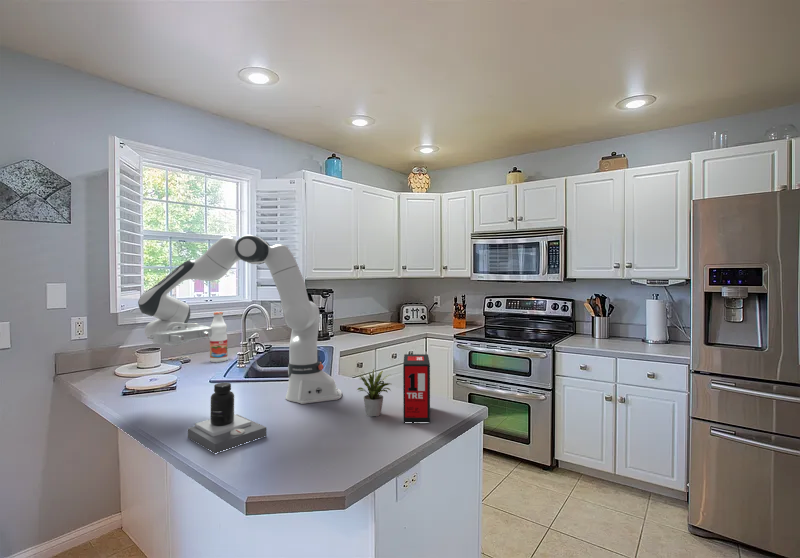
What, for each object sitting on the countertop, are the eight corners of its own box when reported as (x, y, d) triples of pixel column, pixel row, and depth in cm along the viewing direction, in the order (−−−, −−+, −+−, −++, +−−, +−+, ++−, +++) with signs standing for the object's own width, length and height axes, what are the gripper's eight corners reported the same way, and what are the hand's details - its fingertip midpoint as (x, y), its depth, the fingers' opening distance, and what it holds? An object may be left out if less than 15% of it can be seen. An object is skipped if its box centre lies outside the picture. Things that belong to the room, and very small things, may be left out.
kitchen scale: (237, 423, 138) (237, 411, 138) (266, 436, 127) (266, 424, 127) (187, 437, 126) (187, 424, 126) (215, 454, 114) (215, 440, 114)
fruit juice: (225, 358, 243) (225, 311, 242) (229, 361, 235) (228, 312, 235) (208, 360, 237) (207, 312, 237) (211, 363, 230) (211, 313, 229)
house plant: (357, 424, 136) (357, 376, 136) (345, 411, 149) (345, 367, 149) (396, 418, 142) (396, 371, 142) (382, 406, 155) (382, 363, 154)
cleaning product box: (430, 423, 137) (429, 364, 137) (403, 423, 138) (403, 364, 137) (428, 407, 154) (428, 354, 154) (404, 407, 154) (404, 354, 154)
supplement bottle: (211, 428, 123) (211, 388, 123) (209, 421, 129) (209, 383, 129) (235, 424, 127) (235, 385, 126) (232, 417, 133) (232, 380, 132)
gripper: (144, 328, 145) (165, 331, 138) (199, 322, 163) (220, 324, 155) (145, 346, 146) (165, 350, 138) (200, 338, 163) (220, 341, 155)
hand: (195, 336), depth 147 cm, fingers open, 8 cm apart
